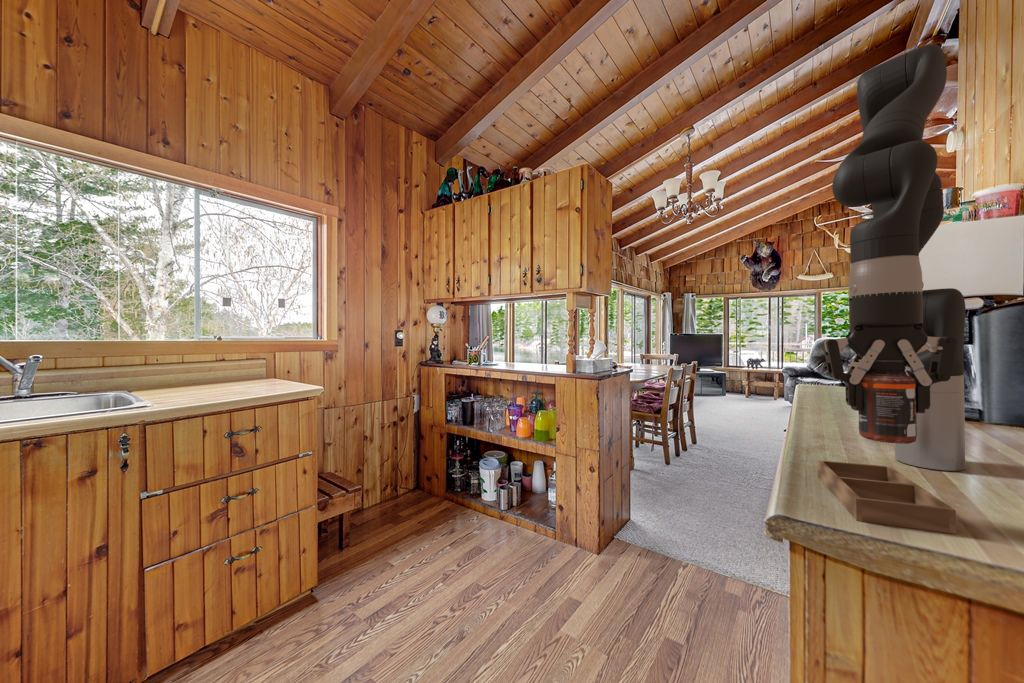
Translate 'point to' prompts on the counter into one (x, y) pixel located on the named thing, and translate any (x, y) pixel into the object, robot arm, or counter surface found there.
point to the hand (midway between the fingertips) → (886, 410)
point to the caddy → (885, 497)
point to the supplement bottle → (888, 403)
